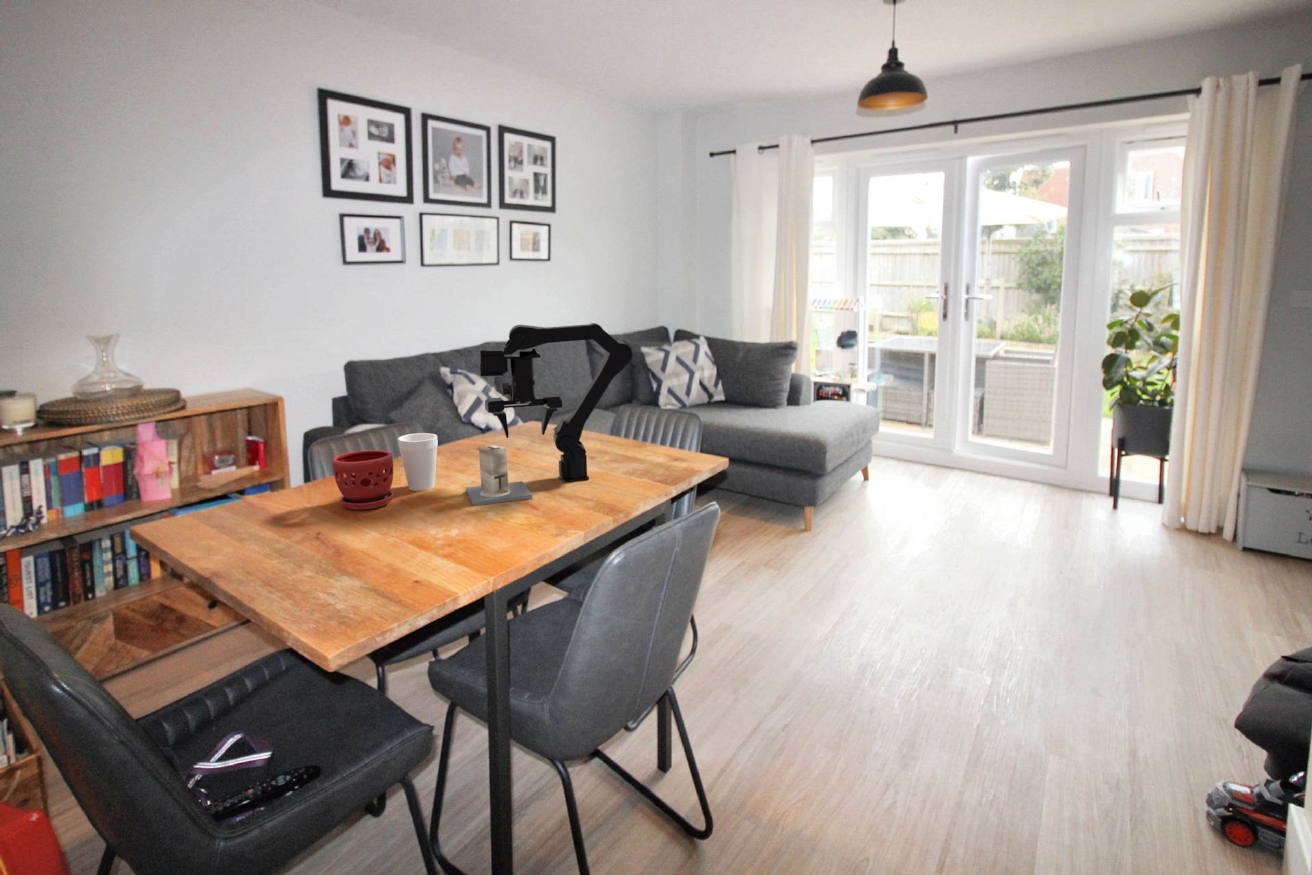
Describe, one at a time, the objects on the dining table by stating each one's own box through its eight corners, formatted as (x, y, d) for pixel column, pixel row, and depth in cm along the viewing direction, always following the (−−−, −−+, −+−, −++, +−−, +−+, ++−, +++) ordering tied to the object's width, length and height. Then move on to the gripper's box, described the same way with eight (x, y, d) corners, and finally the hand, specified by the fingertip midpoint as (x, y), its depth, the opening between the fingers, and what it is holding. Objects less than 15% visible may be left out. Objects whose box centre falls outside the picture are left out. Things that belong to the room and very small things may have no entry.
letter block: (497, 488, 184) (495, 444, 181) (508, 492, 180) (506, 447, 178) (481, 492, 180) (478, 448, 178) (492, 496, 177) (490, 451, 175)
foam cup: (429, 493, 183) (425, 442, 180) (395, 491, 185) (390, 441, 182) (447, 482, 192) (443, 433, 189) (414, 480, 194) (410, 432, 191)
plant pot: (408, 498, 180) (403, 450, 177) (371, 515, 168) (366, 464, 165) (363, 493, 184) (359, 446, 181) (324, 509, 172) (319, 459, 169)
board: (522, 484, 190) (522, 480, 190) (532, 498, 179) (532, 494, 179) (466, 491, 185) (465, 487, 185) (473, 505, 174) (472, 501, 174)
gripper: (551, 369, 197) (553, 426, 201) (479, 373, 191) (483, 432, 194) (561, 375, 187) (563, 435, 191) (486, 379, 181) (490, 442, 184)
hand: (525, 436), depth 190 cm, fingers open, 9 cm apart
